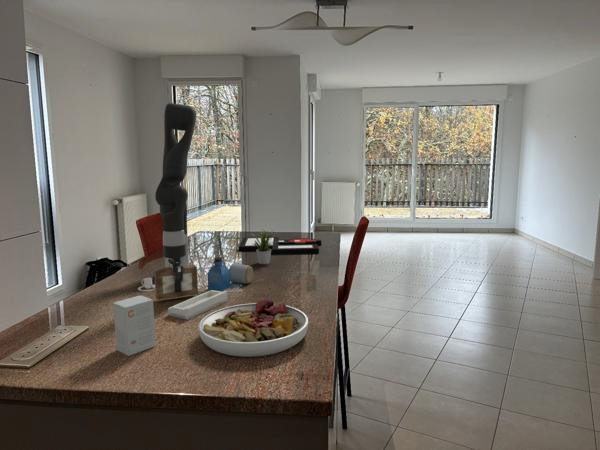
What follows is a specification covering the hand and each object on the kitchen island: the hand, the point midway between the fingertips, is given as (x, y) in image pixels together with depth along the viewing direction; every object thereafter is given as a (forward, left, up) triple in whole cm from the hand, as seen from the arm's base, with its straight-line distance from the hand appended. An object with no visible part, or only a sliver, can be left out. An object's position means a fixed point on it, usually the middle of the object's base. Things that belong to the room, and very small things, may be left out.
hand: (176, 290), depth 157 cm
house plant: (0, +59, -3) cm, 59 cm away
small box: (+19, -36, -3) cm, 41 cm away
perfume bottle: (+5, +17, -3) cm, 18 cm away
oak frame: (0, 0, -2) cm, 2 cm away
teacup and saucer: (-17, +4, -4) cm, 18 cm away
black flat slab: (-12, +94, -4) cm, 95 cm away
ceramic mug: (+8, +28, -4) cm, 30 cm away
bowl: (+43, -16, -4) cm, 47 cm away
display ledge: (+13, -4, -3) cm, 14 cm away
